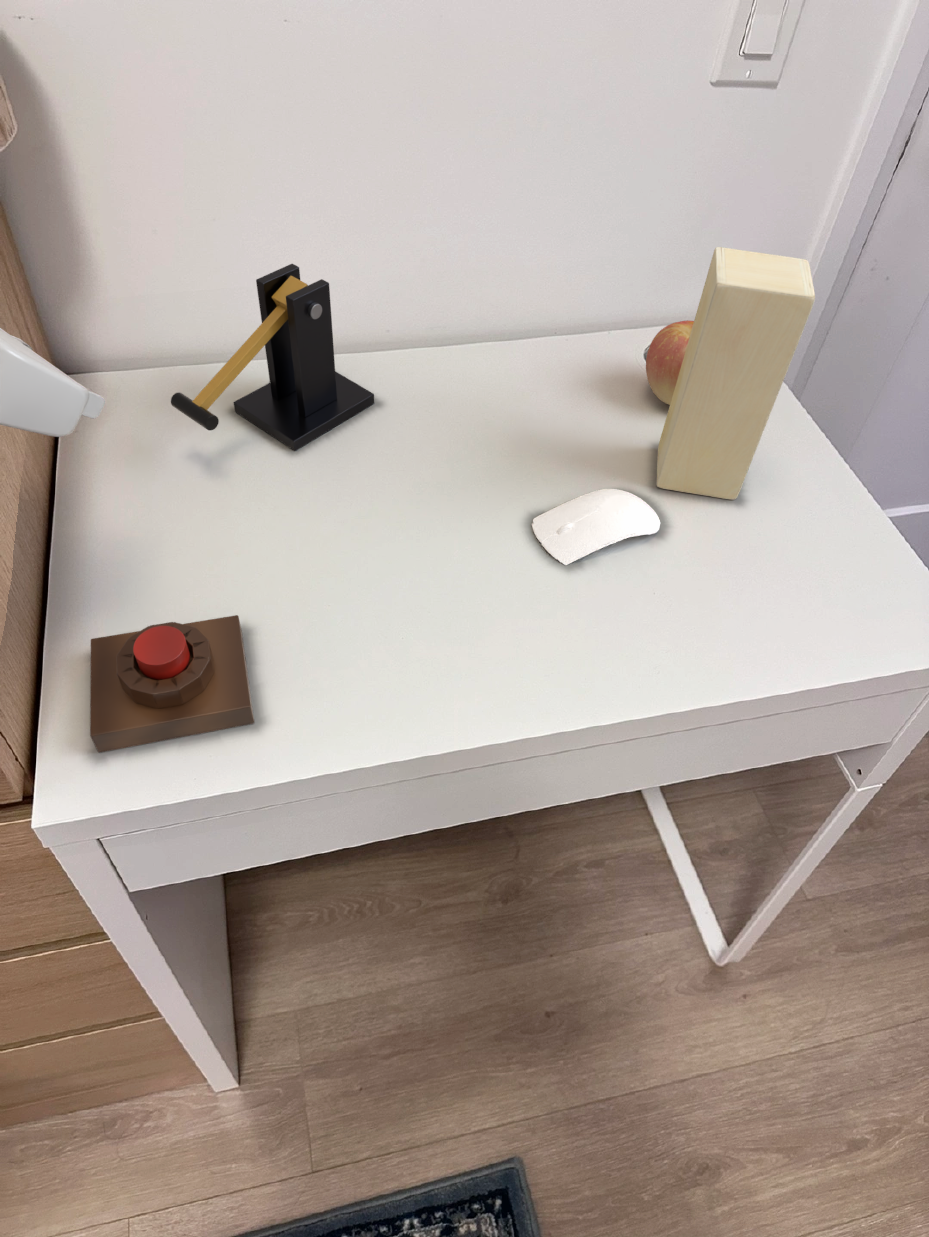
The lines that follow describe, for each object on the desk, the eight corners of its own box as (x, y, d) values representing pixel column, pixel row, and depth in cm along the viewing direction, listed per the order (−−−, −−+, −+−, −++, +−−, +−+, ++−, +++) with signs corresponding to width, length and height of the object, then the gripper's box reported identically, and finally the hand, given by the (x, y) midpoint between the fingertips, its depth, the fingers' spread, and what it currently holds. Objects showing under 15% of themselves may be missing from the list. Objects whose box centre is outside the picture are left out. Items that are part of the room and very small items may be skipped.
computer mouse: (523, 520, 80) (526, 501, 79) (632, 488, 84) (637, 469, 82) (559, 569, 76) (563, 550, 75) (672, 533, 80) (678, 515, 79)
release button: (139, 683, 62) (133, 668, 61) (137, 645, 64) (132, 630, 63) (191, 674, 63) (187, 659, 61) (188, 637, 65) (183, 621, 64)
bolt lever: (213, 436, 79) (200, 421, 76) (178, 413, 81) (164, 397, 78) (327, 307, 81) (317, 289, 79) (291, 287, 83) (280, 269, 81)
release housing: (98, 753, 62) (82, 721, 59) (98, 656, 68) (83, 623, 65) (254, 723, 64) (247, 692, 61) (242, 632, 70) (234, 599, 67)
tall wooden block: (736, 454, 88) (809, 254, 73) (738, 501, 84) (817, 298, 68) (657, 442, 89) (712, 241, 73) (655, 488, 84) (713, 284, 68)
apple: (630, 408, 93) (646, 341, 87) (649, 365, 98) (665, 299, 92) (711, 429, 91) (733, 362, 85) (725, 384, 96) (747, 318, 90)
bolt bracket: (294, 451, 85) (279, 323, 75) (234, 412, 89) (212, 284, 78) (374, 403, 91) (370, 278, 80) (315, 368, 94) (304, 244, 84)
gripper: (-221, 293, 59) (-30, 361, 72) (-62, 425, 51) (121, 475, 64) (-186, 207, 58) (1, 291, 71) (-19, 327, 50) (159, 397, 63)
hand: (59, 379), depth 67 cm, fingers open, 8 cm apart
